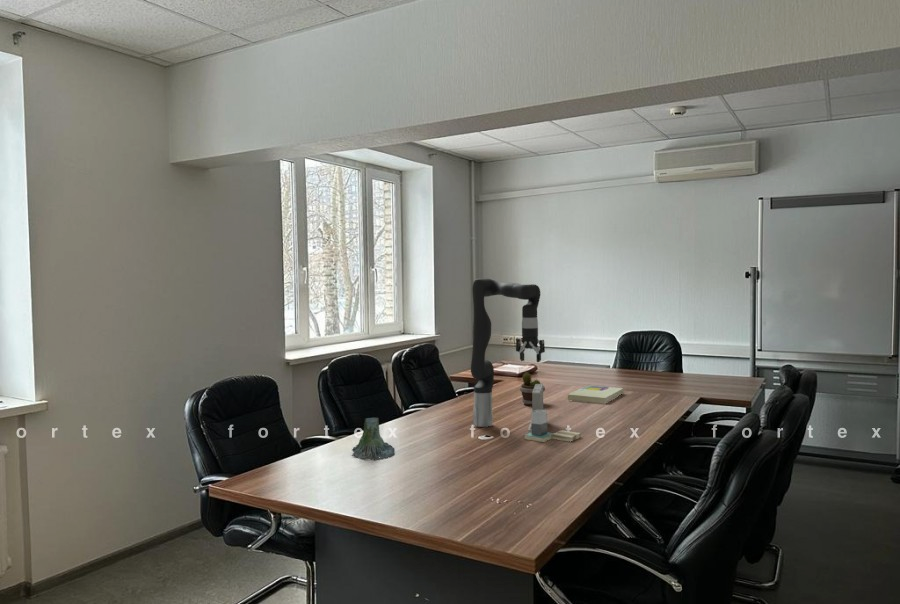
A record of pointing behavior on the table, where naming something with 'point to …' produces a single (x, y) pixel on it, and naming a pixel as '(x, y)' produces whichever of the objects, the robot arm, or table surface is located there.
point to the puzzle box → (595, 394)
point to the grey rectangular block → (539, 422)
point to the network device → (537, 399)
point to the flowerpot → (528, 388)
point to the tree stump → (372, 442)
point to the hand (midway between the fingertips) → (530, 361)
